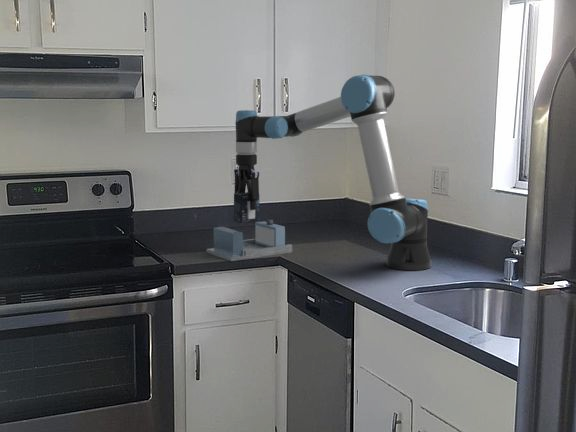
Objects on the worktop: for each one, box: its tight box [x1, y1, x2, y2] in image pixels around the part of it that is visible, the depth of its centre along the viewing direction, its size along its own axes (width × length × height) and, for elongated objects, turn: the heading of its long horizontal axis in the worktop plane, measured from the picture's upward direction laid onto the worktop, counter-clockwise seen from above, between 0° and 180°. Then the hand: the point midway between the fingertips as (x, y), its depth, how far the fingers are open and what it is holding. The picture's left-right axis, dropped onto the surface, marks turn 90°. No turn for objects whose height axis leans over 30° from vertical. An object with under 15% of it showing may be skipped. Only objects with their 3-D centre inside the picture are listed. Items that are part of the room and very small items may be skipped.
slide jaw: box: [254, 219, 286, 247], centre depth 278 cm, size 14×4×10 cm, turn 35°
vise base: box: [206, 226, 293, 262], centre depth 273 cm, size 18×26×9 cm
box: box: [233, 191, 260, 224], centre depth 271 cm, size 8×6×11 cm
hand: (246, 217), depth 271 cm, fingers closed on box, 6 cm apart
